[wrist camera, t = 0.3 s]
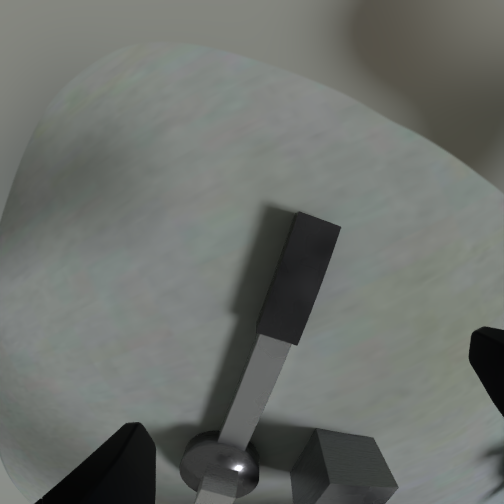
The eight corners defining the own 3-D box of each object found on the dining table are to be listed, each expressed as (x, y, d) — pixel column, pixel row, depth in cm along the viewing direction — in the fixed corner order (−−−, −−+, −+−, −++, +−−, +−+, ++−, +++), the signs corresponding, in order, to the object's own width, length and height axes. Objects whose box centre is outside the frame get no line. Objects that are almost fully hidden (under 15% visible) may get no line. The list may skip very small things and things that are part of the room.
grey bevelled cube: (344, 480, 23) (360, 530, 16) (290, 472, 23) (295, 527, 16) (373, 437, 22) (398, 487, 15) (316, 428, 22) (330, 483, 15)
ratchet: (245, 487, 23) (242, 531, 17) (179, 468, 23) (164, 510, 17) (356, 236, 21) (387, 238, 16) (270, 204, 21) (272, 195, 16)
